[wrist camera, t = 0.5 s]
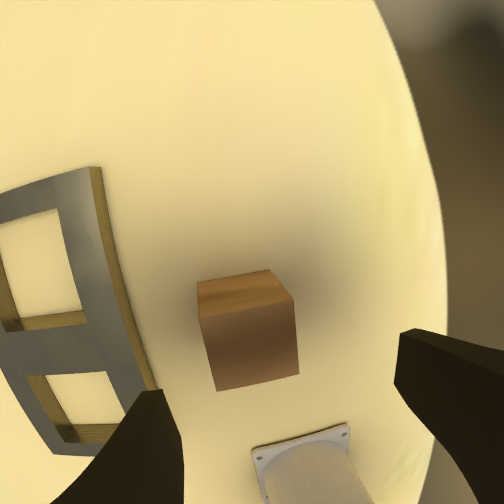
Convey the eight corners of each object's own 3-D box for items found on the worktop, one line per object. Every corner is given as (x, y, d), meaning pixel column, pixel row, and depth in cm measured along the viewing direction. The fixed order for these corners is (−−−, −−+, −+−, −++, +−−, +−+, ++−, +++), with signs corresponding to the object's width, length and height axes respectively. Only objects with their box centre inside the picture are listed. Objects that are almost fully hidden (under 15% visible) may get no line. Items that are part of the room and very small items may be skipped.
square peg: (276, 331, 18) (299, 373, 14) (210, 344, 18) (216, 391, 13) (268, 269, 17) (293, 299, 13) (197, 282, 17) (198, 317, 12)
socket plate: (175, 433, 19) (175, 455, 17) (59, 437, 18) (52, 456, 15) (100, 167, 14) (87, 166, 12) (-31, 209, 13) (-51, 214, 11)
